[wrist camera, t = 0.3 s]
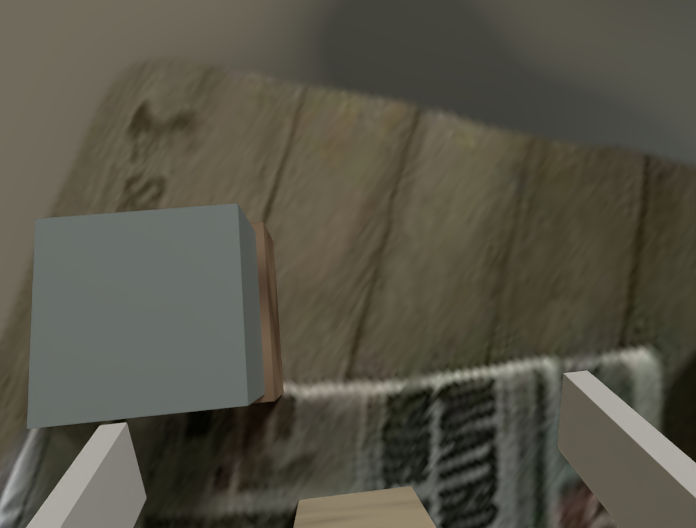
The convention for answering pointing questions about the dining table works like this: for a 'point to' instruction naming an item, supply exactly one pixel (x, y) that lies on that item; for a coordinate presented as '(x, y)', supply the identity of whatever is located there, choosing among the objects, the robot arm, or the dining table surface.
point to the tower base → (268, 315)
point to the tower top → (144, 315)
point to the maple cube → (364, 510)
